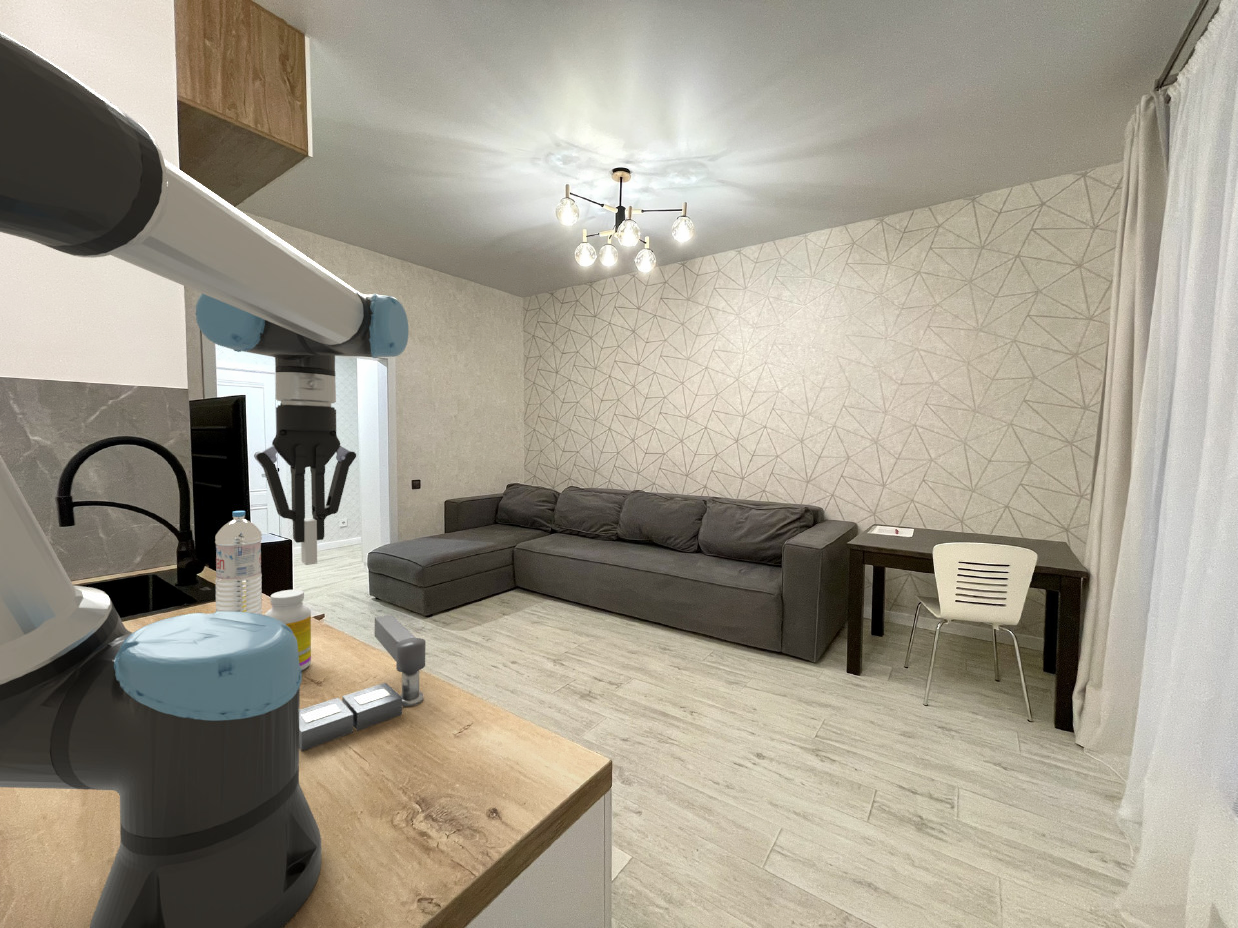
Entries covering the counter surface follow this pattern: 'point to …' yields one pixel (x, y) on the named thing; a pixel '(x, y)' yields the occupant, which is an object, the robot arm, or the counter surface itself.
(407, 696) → the pivot post
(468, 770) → the counter surface
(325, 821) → the counter surface
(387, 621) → the cable arm
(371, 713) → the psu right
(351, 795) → the counter surface
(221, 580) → the water bottle
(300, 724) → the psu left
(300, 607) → the supplement bottle
